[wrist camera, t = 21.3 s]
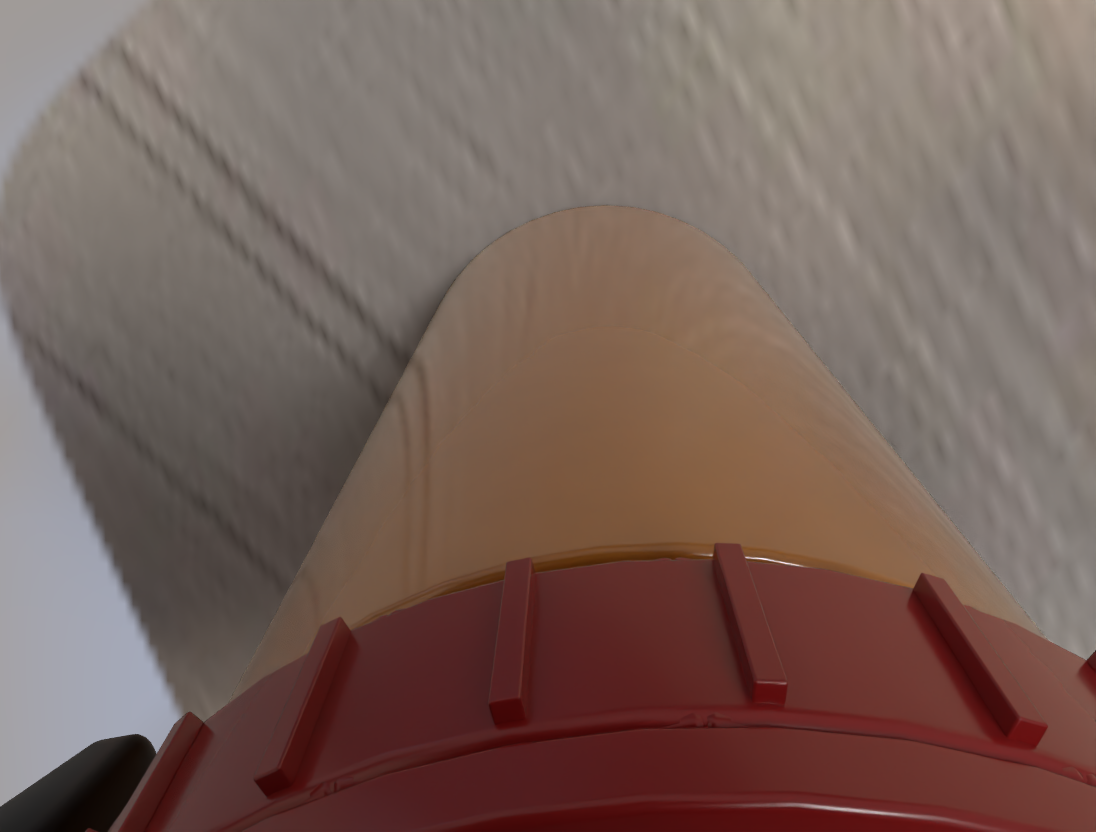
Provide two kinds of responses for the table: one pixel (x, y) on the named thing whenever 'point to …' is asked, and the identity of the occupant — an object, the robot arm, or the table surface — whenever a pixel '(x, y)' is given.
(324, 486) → the table surface
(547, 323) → the jar
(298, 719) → the jar lid
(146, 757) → the robot arm
